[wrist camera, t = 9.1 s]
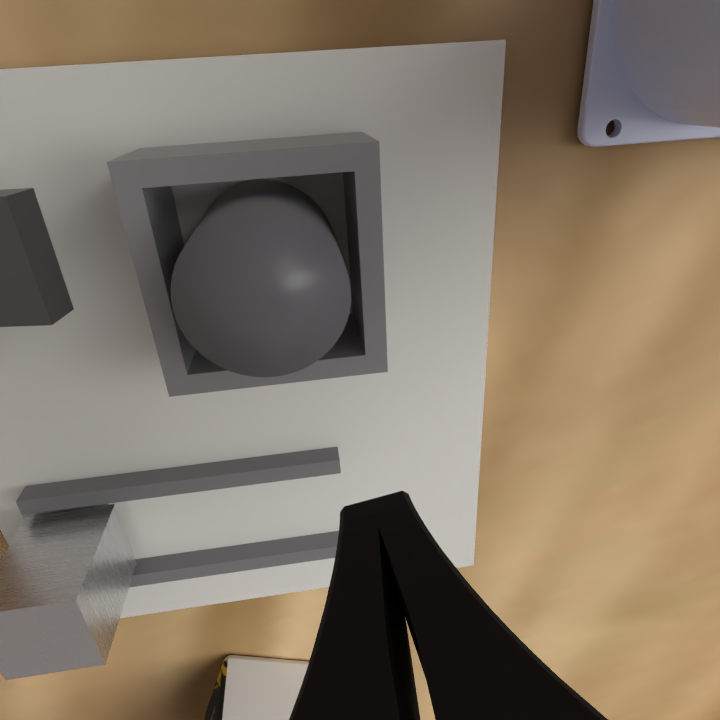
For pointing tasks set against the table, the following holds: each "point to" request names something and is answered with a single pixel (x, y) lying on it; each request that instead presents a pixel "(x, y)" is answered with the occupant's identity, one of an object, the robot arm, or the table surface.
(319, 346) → the push button
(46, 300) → the rocker
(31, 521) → the slider knob
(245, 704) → the medicine bottle
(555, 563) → the table surface
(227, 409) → the panel
